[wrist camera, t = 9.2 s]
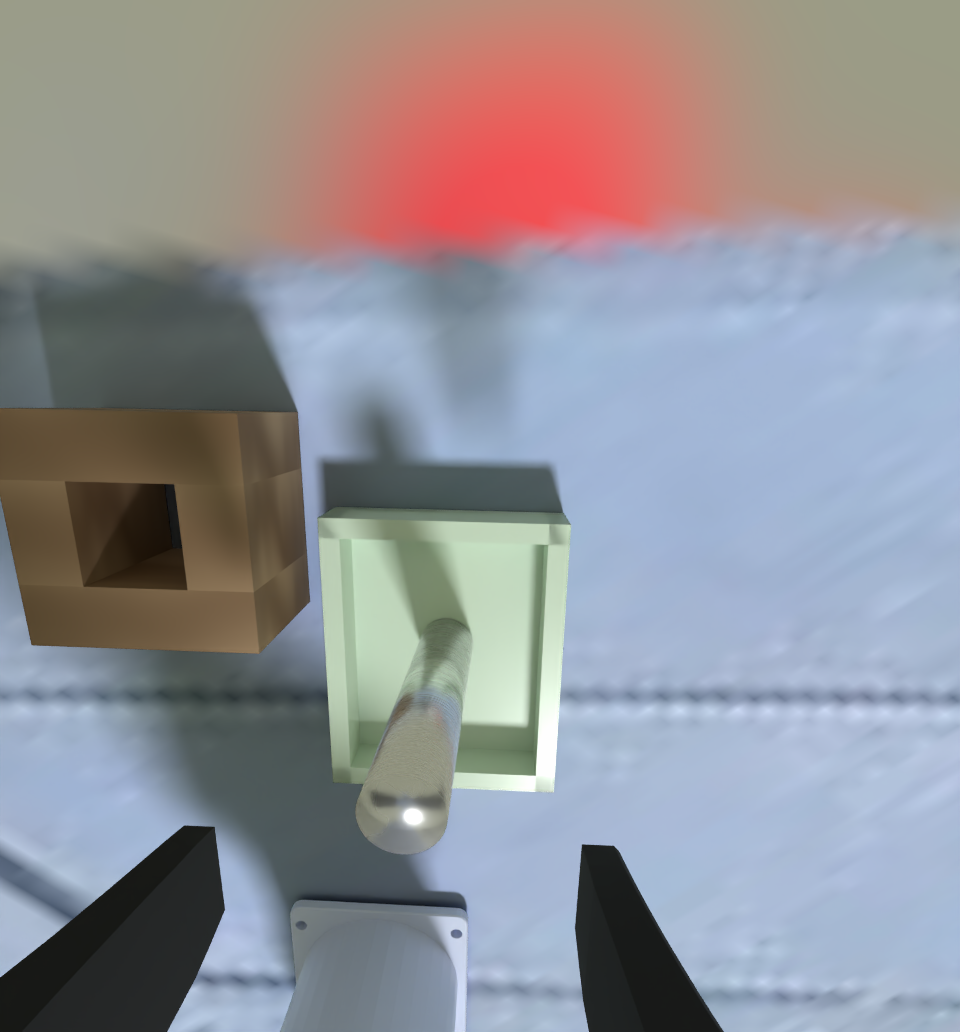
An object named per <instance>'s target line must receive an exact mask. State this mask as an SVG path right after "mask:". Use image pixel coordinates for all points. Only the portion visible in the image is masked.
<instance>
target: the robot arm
mask: <svg viewBox="0 0 960 1032" xmlns="http://www.w3.org/2000/svg"><path fill="white" fill-rule="evenodd" d="M224 910H225V907H224V899H223V891H222V883H221V875H220V867H219V859H218V851H217V843H216V835H215V827H205V826H183V827H182V828H181V829H180V830H178V831H177V832H176V833H175V834H173V835H172V836H171V837H170V838H169V839H167V840H166V841H165V842H164V843H163V844H161V845H160V846H159V847H158V848H157V849H156V850H154V851H153V852H152V853H151V854H150V855H149V856H147V857H146V858H145V859H144V860H143V861H141V862H140V863H139V864H138V865H137V866H136V867H134V868H133V869H132V870H131V871H130V872H129V873H127V874H126V875H125V876H124V877H123V878H122V879H120V880H119V881H118V882H117V883H116V884H114V885H113V886H112V887H111V888H110V889H109V890H107V891H106V892H105V893H104V894H103V895H101V896H100V897H99V898H98V899H97V900H95V901H94V902H93V903H92V904H91V905H89V906H88V907H87V908H86V909H85V910H83V911H82V912H81V913H80V914H79V915H77V916H76V917H75V918H74V919H73V920H71V921H70V922H69V923H68V924H67V925H65V926H64V927H63V928H62V929H61V930H59V931H58V932H57V933H56V934H55V935H53V936H52V937H51V938H50V939H48V940H47V941H46V942H45V943H43V944H42V945H41V946H40V947H38V948H37V949H36V950H35V951H33V952H32V953H31V954H29V955H28V956H27V957H26V958H24V959H23V960H22V961H21V962H19V963H18V964H17V965H16V966H14V967H13V968H12V969H10V970H9V971H8V972H7V973H5V974H4V975H3V976H2V977H0V1032H167V1031H168V1029H169V1027H170V1025H171V1023H172V1021H173V1020H174V1018H175V1016H176V1014H177V1012H178V1010H179V1008H180V1007H181V1005H182V1003H183V1001H184V999H185V997H186V995H187V993H188V991H189V990H190V988H191V986H192V984H193V982H194V980H195V978H196V976H197V974H198V971H199V969H200V967H201V964H202V962H203V960H204V958H205V955H206V953H207V951H208V949H209V946H210V944H211V942H212V939H213V937H214V934H215V932H216V930H217V927H218V925H219V922H220V920H221V918H222V915H223V913H224ZM290 920H291V931H292V943H293V954H294V965H295V976H296V988H295V991H294V993H293V996H292V999H291V1002H290V1005H289V1008H288V1011H287V1014H286V1016H285V1019H284V1022H283V1025H282V1028H281V1031H280V1032H466V1011H467V956H468V915H467V913H466V912H465V911H464V910H463V909H460V908H450V907H431V906H412V905H393V904H374V903H355V902H336V901H317V900H299V901H297V902H295V903H294V905H293V907H292V909H291V912H290ZM575 932H576V941H577V950H578V959H579V968H580V977H581V986H582V994H583V1002H584V1007H585V1013H586V1018H587V1023H588V1029H589V1032H724V1031H723V1030H722V1028H721V1027H720V1025H719V1024H718V1022H717V1021H716V1019H715V1018H714V1016H713V1015H712V1013H711V1012H710V1010H709V1008H708V1007H707V1005H706V1004H705V1002H704V1000H703V999H702V997H701V996H700V994H699V993H698V991H697V989H696V988H695V986H694V984H693V983H692V981H691V979H690V978H689V976H688V975H687V973H686V971H685V970H684V968H683V966H682V965H681V963H680V961H679V960H678V958H677V956H676V955H675V953H674V951H673V950H672V948H671V947H670V945H669V943H668V941H667V940H666V938H665V936H664V934H663V933H662V931H661V929H660V928H659V926H658V924H657V922H656V920H655V919H654V917H653V915H652V913H651V912H650V910H649V908H648V906H647V904H646V903H645V901H644V899H643V897H642V895H641V893H640V891H639V890H638V888H637V886H636V884H635V882H634V880H633V878H632V876H631V874H630V872H629V870H628V868H627V866H626V864H625V862H624V860H623V858H622V856H621V854H620V852H619V851H618V850H617V849H616V848H615V847H614V846H603V845H582V851H581V863H580V875H579V887H578V899H577V912H576V924H575Z"/></svg>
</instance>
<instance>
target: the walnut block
mask: <svg viewBox="0 0 960 1032" xmlns="http://www.w3.org/2000/svg"><path fill="white" fill-rule="evenodd" d="M164 484H174V486H175V494H176V502H177V510H178V517H179V525H180V533H181V541H182V549H180V548H173V547H172V540H171V532H170V525H169V517H168V509H167V502H166V494H165V487H164ZM0 498H1V502H2V507H3V512H4V517H5V521H6V526H7V531H8V535H9V540H10V545H11V550H12V554H13V559H14V564H15V569H16V573H17V578H18V583H19V588H20V592H21V597H22V602H23V607H24V611H25V616H26V621H27V625H28V630H29V635H30V640H31V644H32V645H39V646H67V647H94V648H121V649H148V650H175V651H202V652H229V653H256V654H259V653H260V652H261V651H262V650H263V649H264V648H265V647H266V646H267V645H268V644H269V643H270V642H271V641H272V640H273V639H274V638H275V637H276V636H277V635H278V634H279V633H280V632H281V631H282V630H283V629H284V628H285V627H286V626H287V625H288V624H289V623H290V621H291V620H292V619H293V618H294V617H295V616H296V615H297V614H298V613H299V612H300V611H301V610H302V609H303V608H304V607H305V606H306V605H307V604H308V603H309V602H310V596H309V580H308V565H307V550H306V534H305V519H304V504H303V488H302V473H301V458H300V442H299V427H298V412H266V411H218V410H170V409H122V408H0Z"/></svg>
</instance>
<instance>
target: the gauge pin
mask: <svg viewBox="0 0 960 1032" xmlns="http://www.w3.org/2000/svg"><path fill="white" fill-rule="evenodd" d="M472 649H473V638H472V635H471V633H470V631H469V629H468V628H467V627H466V626H465V625H464V624H463V623H461V622H460V621H458V620H455V619H451V618H440V619H437V620H434V621H432V622H431V623H430V624H428V625H427V626H426V628H425V629H424V631H423V633H422V635H421V638H420V640H419V643H418V646H417V648H416V651H415V653H414V656H413V658H412V661H411V664H410V666H409V669H408V671H407V674H406V676H405V679H404V681H403V684H402V687H401V689H400V692H399V694H398V697H397V699H396V702H395V705H394V707H393V710H392V712H391V715H390V717H389V720H388V723H387V725H386V728H385V730H384V733H383V735H382V738H381V741H380V743H379V746H378V748H377V751H376V753H375V756H374V759H373V761H372V764H371V766H370V769H369V771H368V774H367V777H366V779H365V782H364V784H363V787H362V789H361V792H360V795H359V797H358V800H357V803H356V809H355V815H356V820H357V823H358V826H359V828H360V830H361V832H362V833H363V835H364V836H365V837H366V838H367V839H368V840H369V841H370V842H371V843H373V844H374V845H375V846H377V847H379V848H380V849H383V850H385V851H388V852H391V853H395V854H403V855H406V854H416V853H420V852H423V851H425V850H427V849H429V848H431V847H432V846H434V845H435V844H436V843H437V842H438V841H439V840H440V839H441V837H442V836H443V834H444V832H445V829H446V826H447V820H448V814H449V807H450V800H451V793H452V786H453V779H454V772H455V766H456V759H457V752H458V745H459V738H460V731H461V724H462V717H463V711H464V704H465V697H466V690H467V683H468V676H469V669H470V663H471V656H472Z"/></svg>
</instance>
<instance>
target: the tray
mask: <svg viewBox="0 0 960 1032" xmlns="http://www.w3.org/2000/svg"><path fill="white" fill-rule="evenodd" d="M570 532H571V524H570V523H569V521H568V519H567V518H566V516H565V515H564V513H546V512H509V511H472V510H435V509H398V508H361V507H334V508H333V509H331V510H330V511H328V512H326V513H325V514H323V515H321V516H320V517H318V534H319V551H320V568H321V586H322V603H323V620H324V637H325V654H326V671H327V688H328V705H329V722H330V739H331V756H332V773H333V783H353V784H364V782H365V779H366V777H367V774H368V771H369V769H370V766H371V764H372V761H373V759H374V756H375V753H376V751H377V748H378V746H379V743H380V741H381V738H382V735H383V733H384V730H385V728H386V725H387V723H388V720H389V717H390V715H391V712H392V710H393V707H394V705H395V702H396V699H397V697H398V694H399V692H400V689H401V687H402V684H403V681H404V679H405V676H406V674H407V671H408V669H409V666H410V664H411V661H412V658H413V656H414V653H415V651H416V648H417V646H418V643H419V640H420V638H421V635H422V633H423V631H424V629H425V628H426V626H427V625H428V624H430V623H431V622H432V621H434V620H437V619H440V618H451V619H455V620H458V621H460V622H461V623H463V624H464V625H465V626H466V627H467V628H468V629H469V631H470V633H471V635H472V638H473V649H472V656H471V663H470V669H469V676H468V683H467V690H466V697H465V704H464V711H463V717H462V724H461V731H460V738H459V745H458V752H457V759H456V766H455V772H454V779H453V786H452V788H464V789H486V790H508V791H530V792H553V793H554V779H555V763H556V748H557V732H558V717H559V701H560V686H561V671H562V655H563V640H564V624H565V609H566V593H567V578H568V562H569V547H570Z"/></svg>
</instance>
